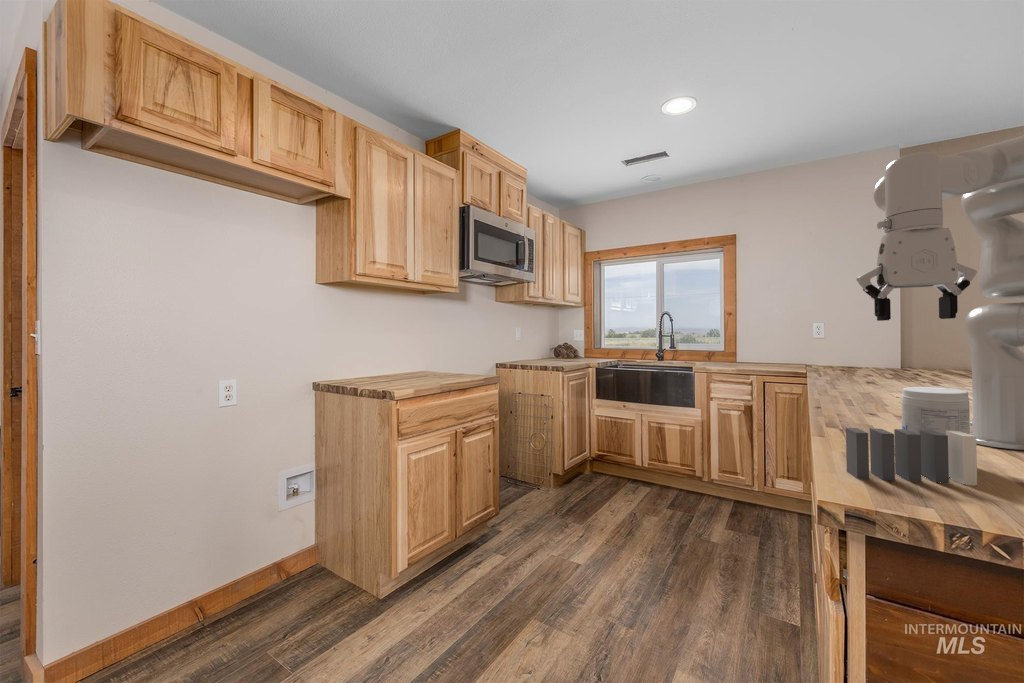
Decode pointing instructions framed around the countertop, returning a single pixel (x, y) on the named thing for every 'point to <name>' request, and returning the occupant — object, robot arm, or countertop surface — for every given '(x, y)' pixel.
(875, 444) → the domino
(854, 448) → the domino
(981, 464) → the countertop surface
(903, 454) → the domino
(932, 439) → the domino
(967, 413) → the supplement tub
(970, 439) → the domino
